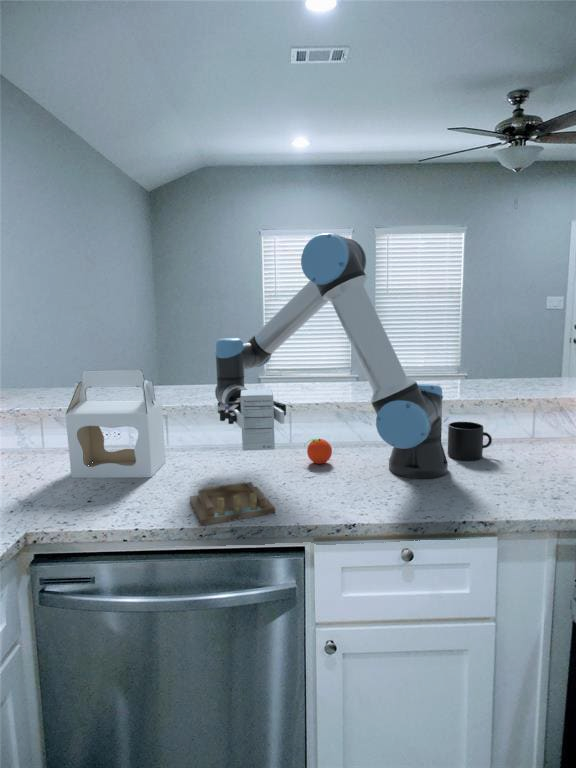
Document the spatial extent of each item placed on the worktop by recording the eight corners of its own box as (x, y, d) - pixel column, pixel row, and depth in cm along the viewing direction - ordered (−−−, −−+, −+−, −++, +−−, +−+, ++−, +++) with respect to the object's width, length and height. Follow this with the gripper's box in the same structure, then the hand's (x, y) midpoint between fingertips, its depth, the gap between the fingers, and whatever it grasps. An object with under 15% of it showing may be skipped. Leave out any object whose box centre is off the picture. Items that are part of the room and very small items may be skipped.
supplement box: (242, 442, 120) (240, 389, 118) (273, 441, 121) (272, 388, 119) (241, 451, 113) (239, 395, 111) (275, 450, 113) (273, 394, 111)
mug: (495, 461, 140) (497, 429, 139) (451, 461, 142) (452, 429, 140) (486, 451, 149) (487, 421, 148) (444, 451, 151) (445, 421, 149)
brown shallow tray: (256, 491, 122) (256, 472, 122) (275, 513, 109) (274, 492, 109) (190, 501, 117) (189, 481, 116) (201, 525, 104) (199, 503, 103)
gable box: (166, 462, 147) (160, 366, 143) (152, 477, 134) (145, 372, 130) (91, 463, 148) (83, 367, 144) (70, 478, 135) (60, 374, 131)
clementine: (301, 466, 141) (300, 441, 139) (306, 458, 147) (306, 434, 146) (329, 467, 138) (329, 442, 137) (334, 460, 145) (333, 436, 144)
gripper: (278, 411, 136) (308, 431, 115) (198, 418, 130) (214, 441, 108) (277, 384, 135) (307, 399, 114) (197, 389, 128) (213, 406, 107)
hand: (262, 419), depth 111 cm, fingers closed on supplement box, 8 cm apart
